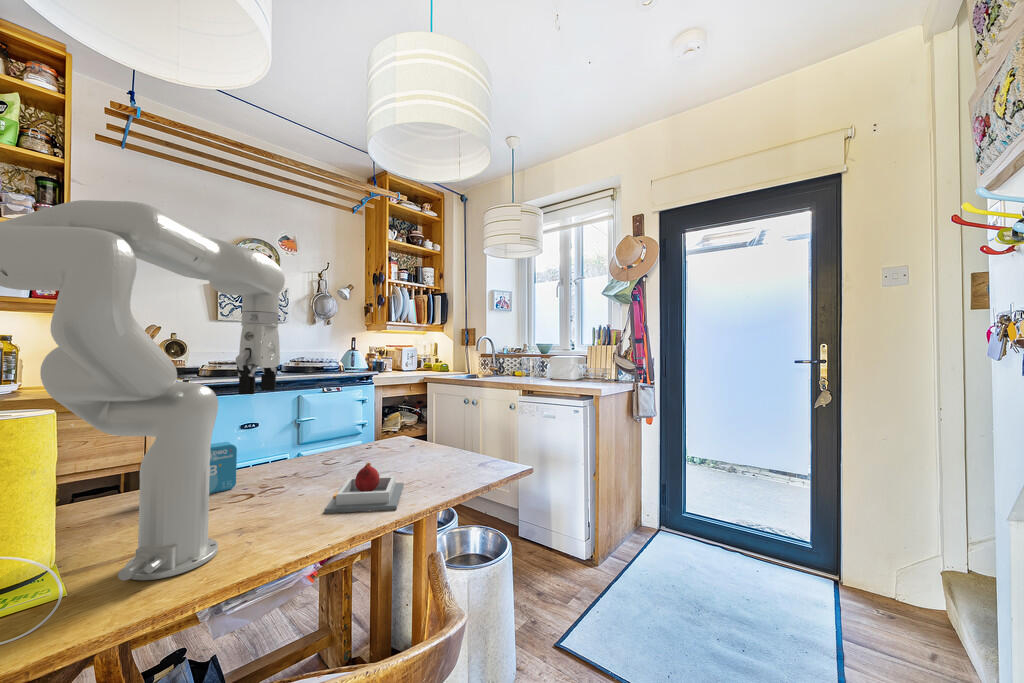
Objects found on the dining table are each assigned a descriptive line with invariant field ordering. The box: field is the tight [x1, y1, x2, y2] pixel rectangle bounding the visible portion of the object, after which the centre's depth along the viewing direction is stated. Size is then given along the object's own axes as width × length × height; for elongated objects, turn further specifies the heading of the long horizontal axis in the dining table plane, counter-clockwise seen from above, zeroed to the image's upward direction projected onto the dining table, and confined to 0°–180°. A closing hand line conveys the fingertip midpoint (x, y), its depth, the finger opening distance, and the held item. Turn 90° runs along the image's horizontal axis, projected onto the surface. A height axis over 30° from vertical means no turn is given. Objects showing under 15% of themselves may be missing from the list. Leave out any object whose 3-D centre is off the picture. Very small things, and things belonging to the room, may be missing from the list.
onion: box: [355, 462, 380, 492], centre depth 101 cm, size 6×6×8 cm
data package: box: [209, 441, 238, 495], centre depth 104 cm, size 12×4×12 cm, turn 138°
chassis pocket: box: [324, 475, 405, 514], centre depth 101 cm, size 16×16×4 cm
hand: (258, 392), depth 95 cm, fingers open, 9 cm apart
